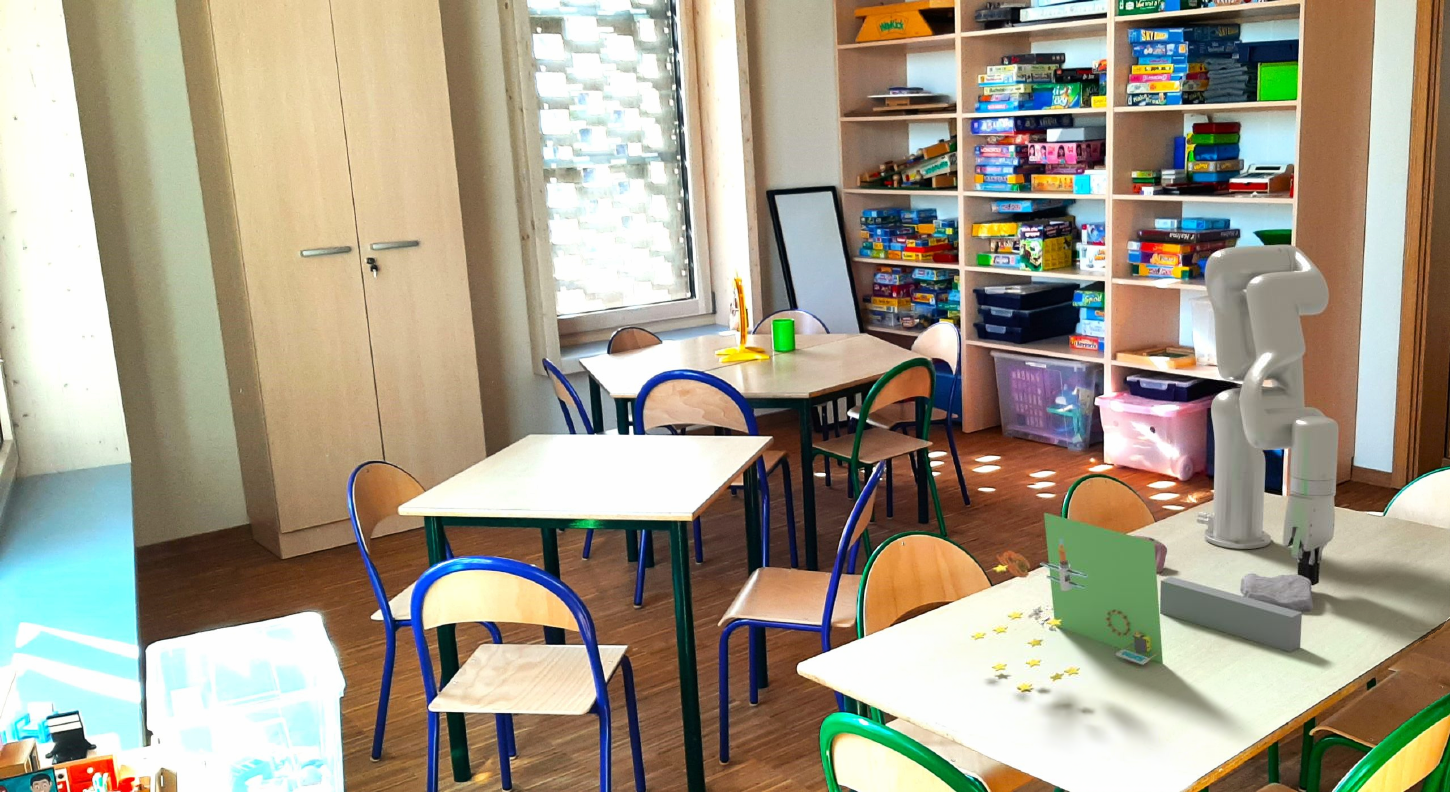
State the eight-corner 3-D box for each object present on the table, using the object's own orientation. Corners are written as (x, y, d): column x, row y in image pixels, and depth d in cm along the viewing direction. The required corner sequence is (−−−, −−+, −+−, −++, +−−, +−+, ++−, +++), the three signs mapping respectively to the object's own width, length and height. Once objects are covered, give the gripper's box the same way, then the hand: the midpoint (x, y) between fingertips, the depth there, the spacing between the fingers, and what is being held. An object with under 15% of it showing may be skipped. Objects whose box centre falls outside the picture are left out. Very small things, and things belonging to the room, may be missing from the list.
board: (1160, 612, 223) (1160, 580, 221) (1169, 608, 224) (1170, 576, 223) (1290, 652, 204) (1292, 617, 203) (1300, 646, 206) (1301, 612, 204)
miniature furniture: (1119, 590, 235) (1119, 583, 235) (1055, 633, 217) (1055, 624, 217) (1084, 583, 240) (1084, 575, 240) (1018, 624, 222) (1018, 615, 222)
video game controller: (1166, 576, 245) (1170, 540, 246) (1161, 572, 241) (1165, 536, 242) (1114, 569, 250) (1119, 534, 251) (1109, 565, 246) (1114, 530, 247)
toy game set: (958, 683, 206) (942, 551, 199) (1056, 624, 220) (1044, 498, 213) (1065, 729, 189) (1051, 586, 182) (1164, 662, 202) (1155, 526, 196)
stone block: (1315, 623, 220) (1310, 592, 229) (1316, 599, 218) (1311, 569, 227) (1242, 619, 224) (1239, 589, 233) (1242, 596, 222) (1239, 567, 231)
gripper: (1313, 473, 233) (1308, 567, 236) (1270, 490, 224) (1266, 587, 228) (1353, 480, 227) (1348, 577, 231) (1311, 498, 218) (1307, 598, 222)
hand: (1308, 582), depth 229 cm, fingers closed
